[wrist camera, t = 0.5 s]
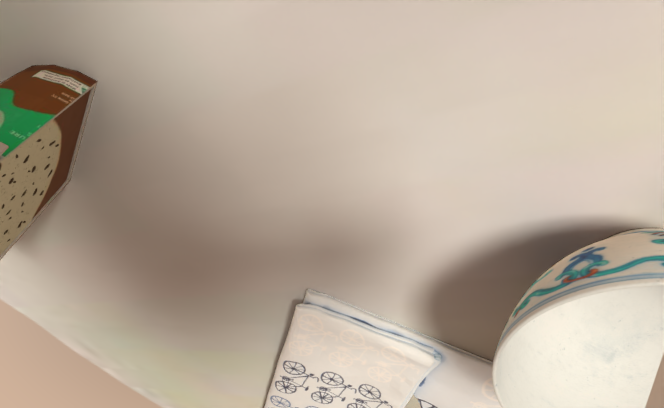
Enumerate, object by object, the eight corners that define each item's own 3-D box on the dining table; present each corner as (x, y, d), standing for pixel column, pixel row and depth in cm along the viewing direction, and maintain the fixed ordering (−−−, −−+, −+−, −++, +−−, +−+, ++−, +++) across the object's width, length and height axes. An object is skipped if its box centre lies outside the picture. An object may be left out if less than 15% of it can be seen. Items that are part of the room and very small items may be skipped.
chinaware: (450, 273, 37) (430, 383, 31) (652, 103, 27) (676, 220, 21) (644, 390, 39) (658, 512, 33) (902, 273, 29) (983, 421, 23)
